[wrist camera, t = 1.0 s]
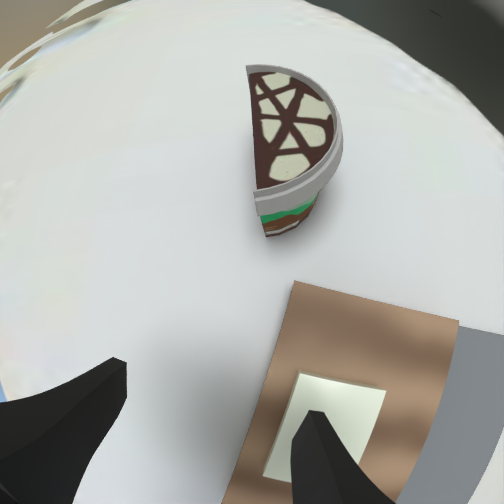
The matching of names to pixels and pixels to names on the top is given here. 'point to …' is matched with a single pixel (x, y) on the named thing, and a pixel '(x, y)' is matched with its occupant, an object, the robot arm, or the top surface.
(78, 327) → the top surface
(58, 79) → the top surface
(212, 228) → the top surface
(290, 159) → the food container
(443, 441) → the mat
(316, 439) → the robot arm
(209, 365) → the top surface
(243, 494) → the board
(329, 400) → the tile
